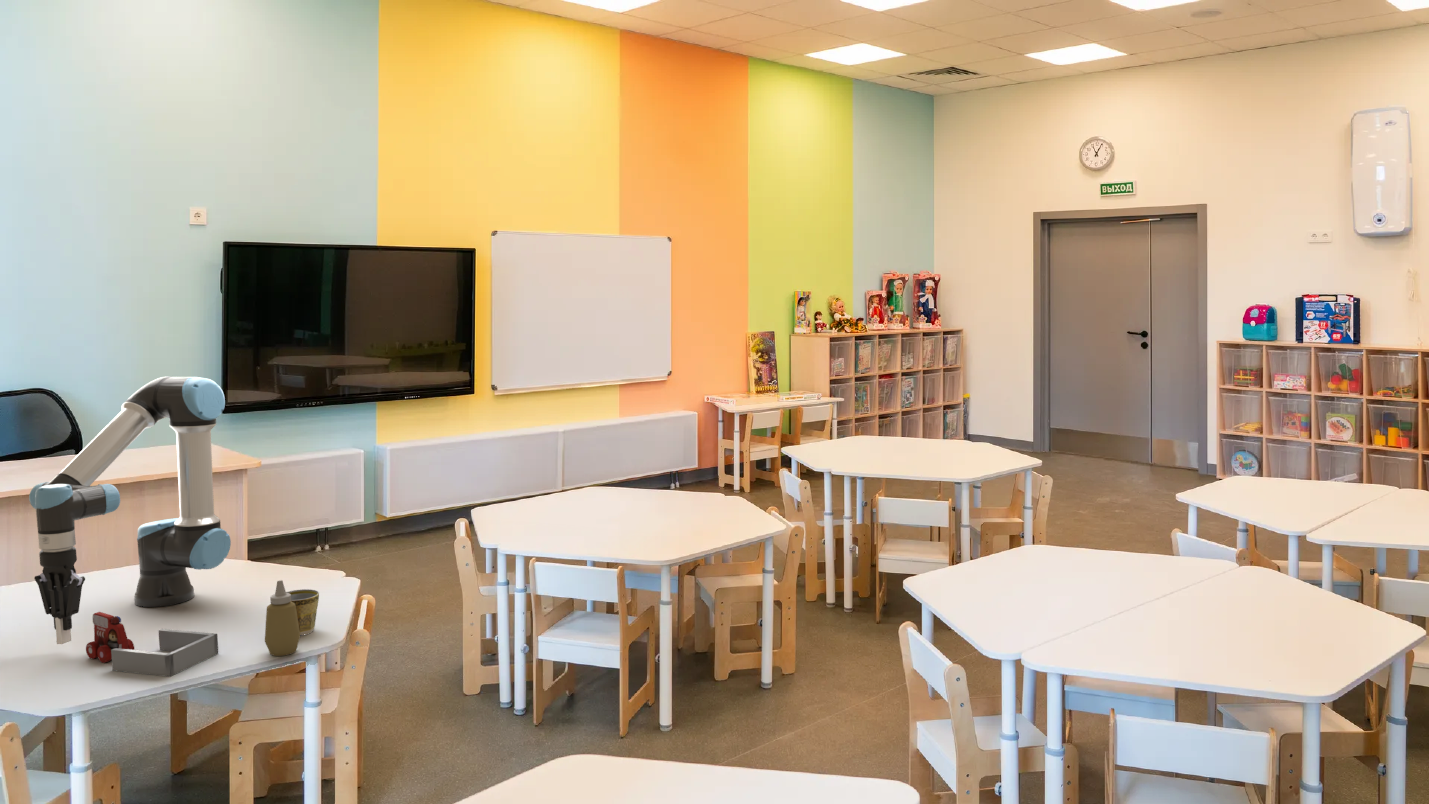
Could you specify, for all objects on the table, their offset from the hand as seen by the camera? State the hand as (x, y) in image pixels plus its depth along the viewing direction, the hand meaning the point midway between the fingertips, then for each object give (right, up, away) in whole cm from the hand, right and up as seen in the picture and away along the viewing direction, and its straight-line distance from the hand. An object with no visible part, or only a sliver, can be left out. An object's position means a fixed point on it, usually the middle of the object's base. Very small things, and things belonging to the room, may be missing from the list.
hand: (64, 642), depth 245 cm
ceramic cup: (+51, -1, +16) cm, 53 cm away
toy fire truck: (+13, -3, -3) cm, 14 cm away
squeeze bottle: (+54, -3, -1) cm, 54 cm away
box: (+29, -3, -7) cm, 30 cm away
